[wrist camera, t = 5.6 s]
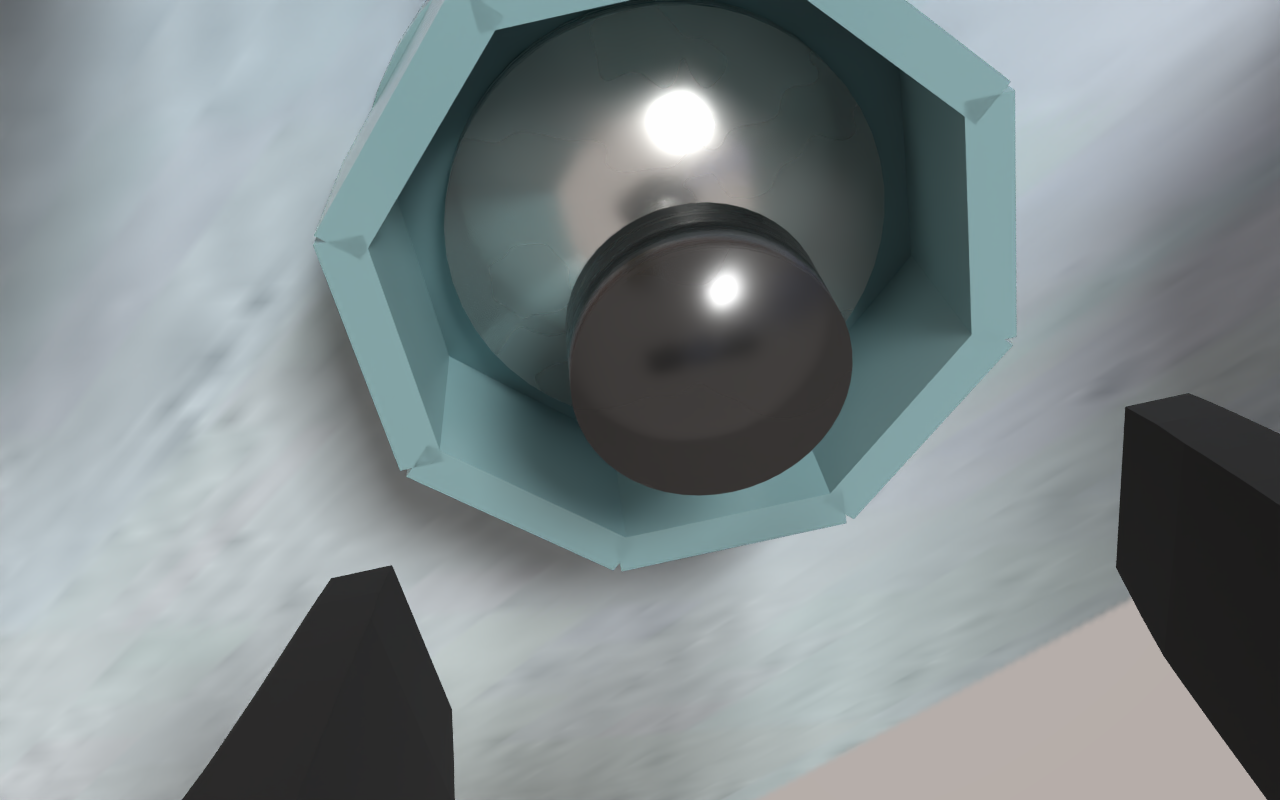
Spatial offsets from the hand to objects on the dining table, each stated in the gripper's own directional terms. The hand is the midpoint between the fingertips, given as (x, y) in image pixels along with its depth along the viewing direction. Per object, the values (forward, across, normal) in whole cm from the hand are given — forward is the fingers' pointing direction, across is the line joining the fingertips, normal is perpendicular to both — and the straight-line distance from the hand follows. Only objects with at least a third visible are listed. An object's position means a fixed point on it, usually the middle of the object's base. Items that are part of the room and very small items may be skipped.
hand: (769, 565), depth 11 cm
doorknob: (+9, 0, 0) cm, 9 cm away
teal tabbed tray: (+10, 0, -1) cm, 10 cm away
